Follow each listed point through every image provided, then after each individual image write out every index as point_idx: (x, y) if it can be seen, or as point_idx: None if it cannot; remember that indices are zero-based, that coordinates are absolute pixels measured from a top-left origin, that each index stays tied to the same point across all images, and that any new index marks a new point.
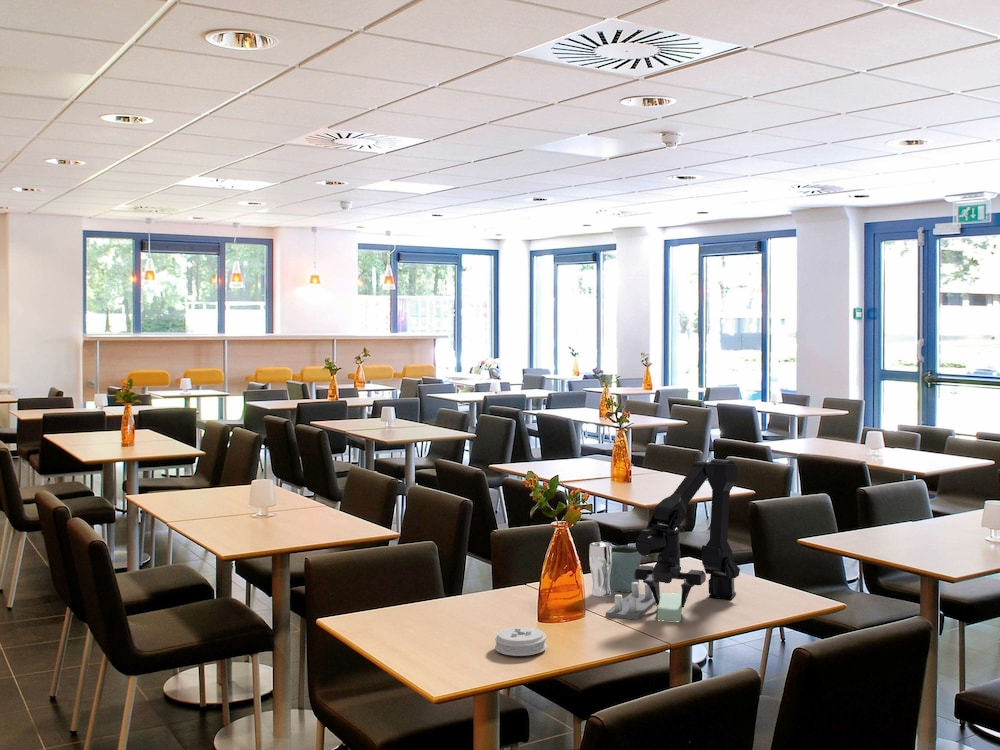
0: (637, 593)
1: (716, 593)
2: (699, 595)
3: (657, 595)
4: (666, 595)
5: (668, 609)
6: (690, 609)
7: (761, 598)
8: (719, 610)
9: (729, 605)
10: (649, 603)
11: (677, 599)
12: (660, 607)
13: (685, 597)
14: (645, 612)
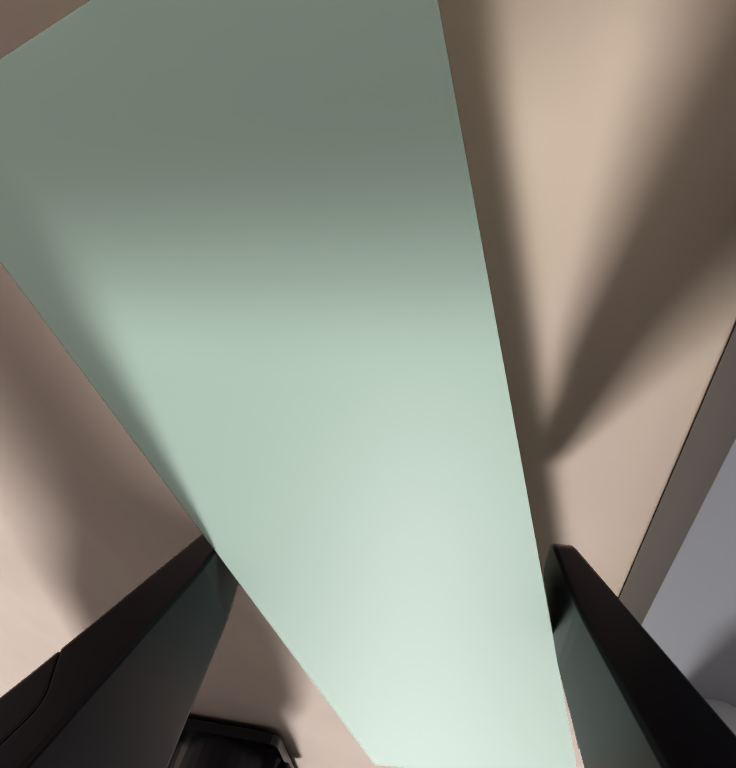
0: None
1: (231, 762)
2: (345, 752)
3: (612, 707)
4: (504, 739)
5: (214, 218)
6: None
7: None
8: (84, 583)
9: None
10: (684, 605)
11: (343, 664)
12: (436, 295)
13: (73, 644)
14: (719, 369)
